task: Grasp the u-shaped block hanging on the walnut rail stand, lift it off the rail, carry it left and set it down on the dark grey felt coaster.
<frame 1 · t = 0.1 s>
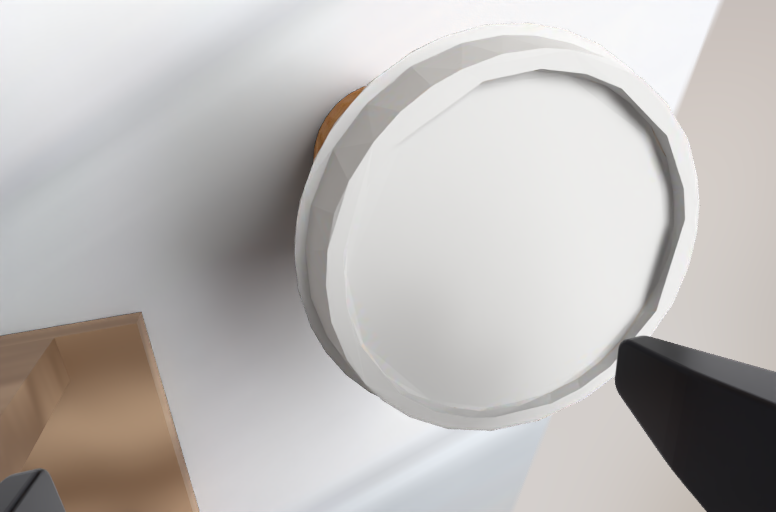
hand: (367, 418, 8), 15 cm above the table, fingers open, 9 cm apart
stand: (93, 480, 24), on the table
disposable coffee cup: (386, 159, 22), on the table
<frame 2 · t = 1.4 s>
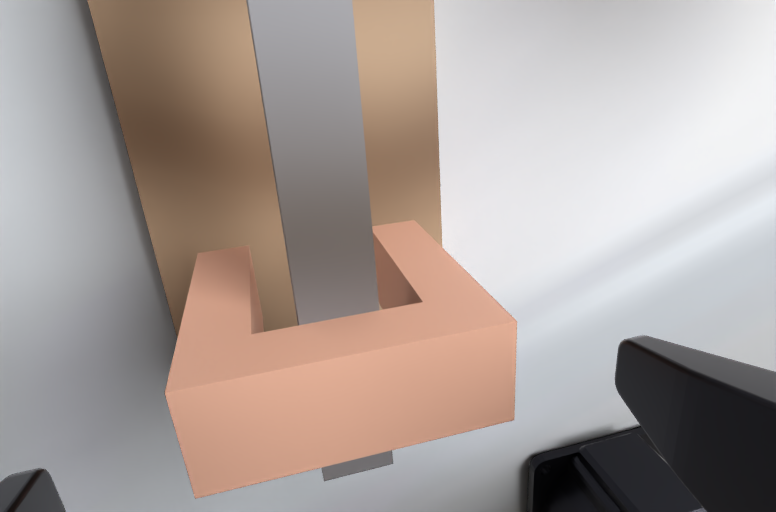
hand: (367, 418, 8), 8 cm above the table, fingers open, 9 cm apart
stand: (295, 174, 15), on the table
u-shaped block: (315, 272, 13), point 3 cm above the table, touching stand
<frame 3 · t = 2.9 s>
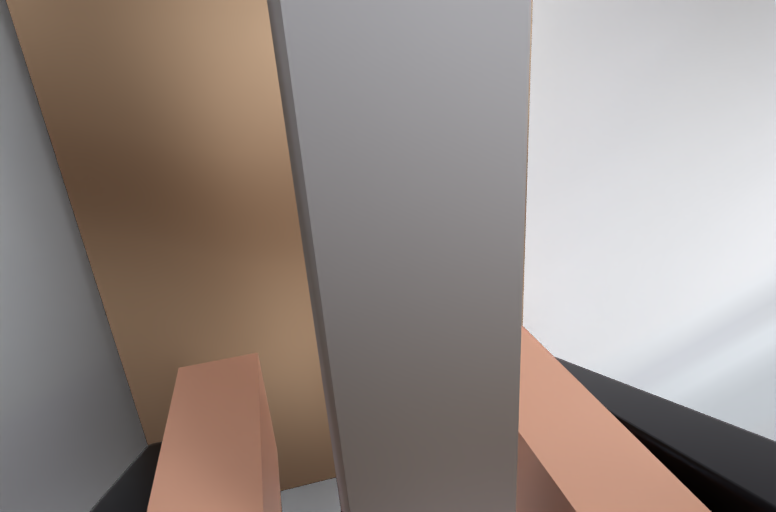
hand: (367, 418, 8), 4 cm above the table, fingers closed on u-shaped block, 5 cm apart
stand: (322, 229, 10), on the table
u-shaped block: (356, 384, 9), point 3 cm above the table, touching gripper, stand
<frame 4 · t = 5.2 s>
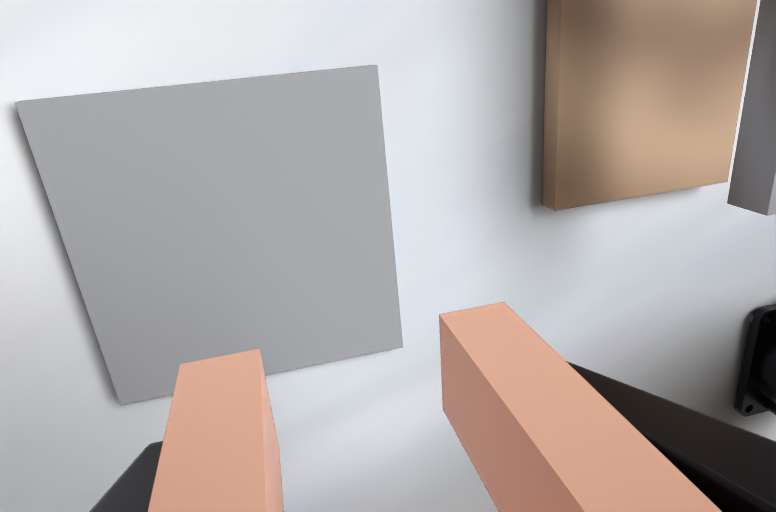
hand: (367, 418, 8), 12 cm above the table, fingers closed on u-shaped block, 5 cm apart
stand: (640, 51, 20), on the table
coaster: (241, 239, 19), on the table
u-shaped block: (358, 381, 9), point 11 cm above the table, touching gripper
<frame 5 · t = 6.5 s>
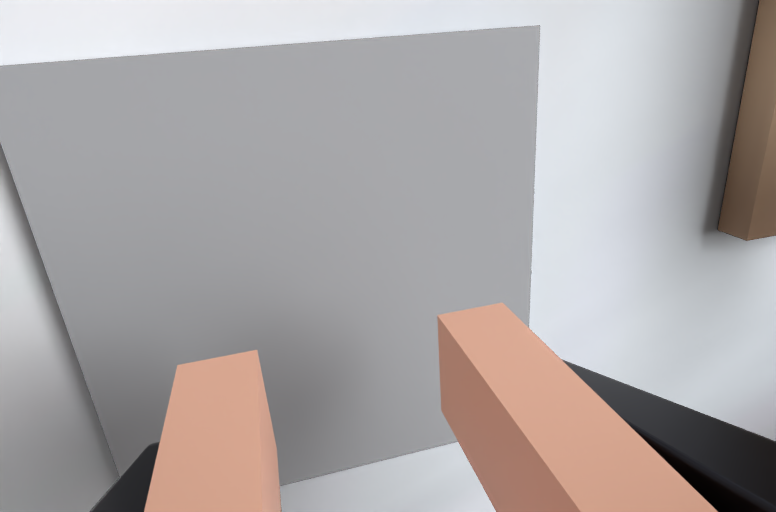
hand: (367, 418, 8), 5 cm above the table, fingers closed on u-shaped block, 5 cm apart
coaster: (318, 283, 13), on the table
u-shaped block: (356, 382, 9), point 4 cm above the table, touching gripper
when the fingers open (3 cm above the table, at t = 7.8 s): u-shaped block drops 1 cm, resting on coaster.
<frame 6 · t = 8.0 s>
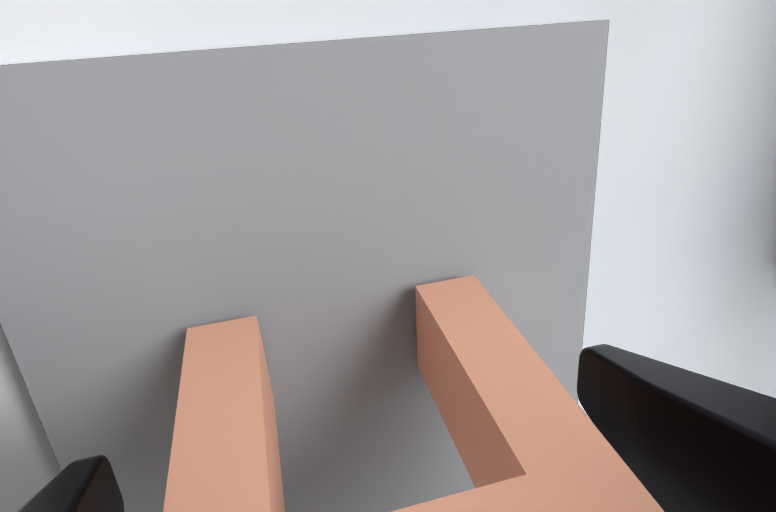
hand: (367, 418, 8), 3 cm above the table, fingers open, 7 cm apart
coaster: (335, 327, 11), on the table
u-shaped block: (343, 342, 10), point 1 cm above the table, tilted 7°, touching coaster
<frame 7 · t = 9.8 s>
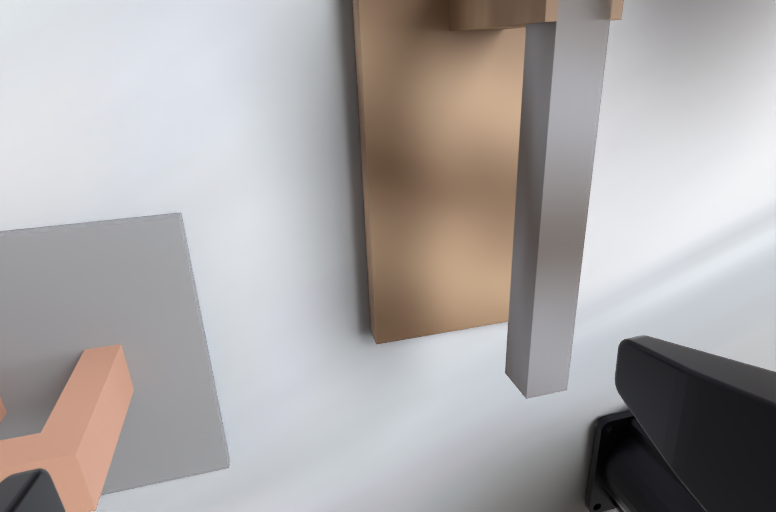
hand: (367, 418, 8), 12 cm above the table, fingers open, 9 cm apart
stand: (462, 195, 20), on the table
coaster: (50, 373, 19), on the table
u-shaped block: (45, 381, 18), point 1 cm above the table, touching coaster
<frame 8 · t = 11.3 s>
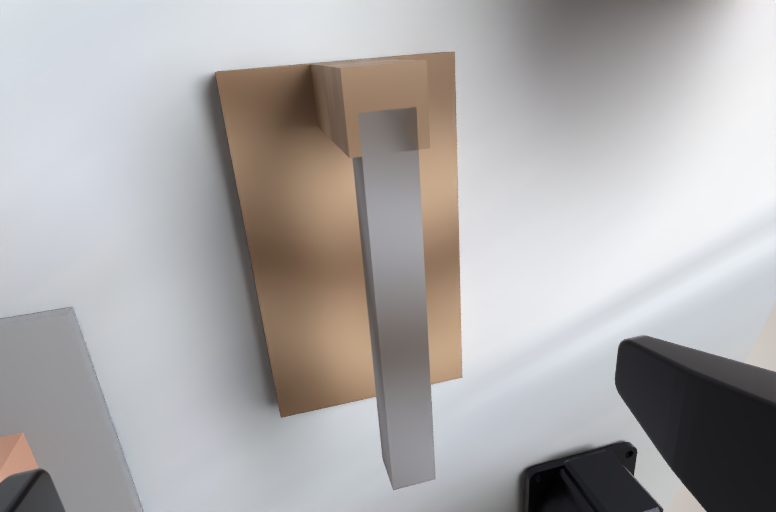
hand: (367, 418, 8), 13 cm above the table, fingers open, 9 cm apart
stand: (357, 271, 21), on the table
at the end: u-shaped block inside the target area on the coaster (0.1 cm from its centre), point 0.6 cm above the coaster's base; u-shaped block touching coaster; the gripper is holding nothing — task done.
